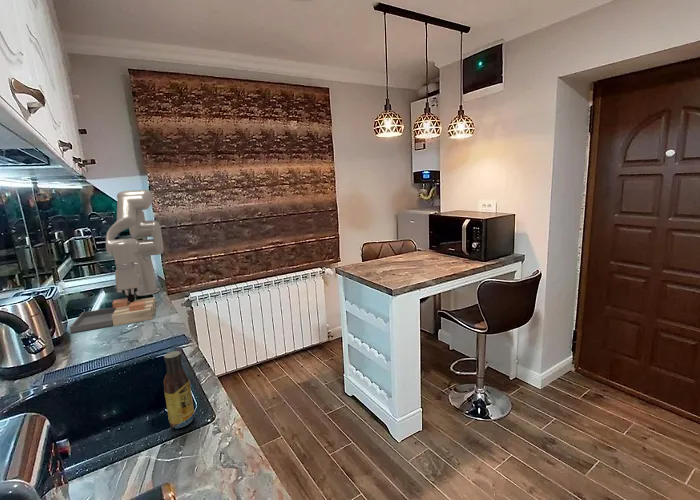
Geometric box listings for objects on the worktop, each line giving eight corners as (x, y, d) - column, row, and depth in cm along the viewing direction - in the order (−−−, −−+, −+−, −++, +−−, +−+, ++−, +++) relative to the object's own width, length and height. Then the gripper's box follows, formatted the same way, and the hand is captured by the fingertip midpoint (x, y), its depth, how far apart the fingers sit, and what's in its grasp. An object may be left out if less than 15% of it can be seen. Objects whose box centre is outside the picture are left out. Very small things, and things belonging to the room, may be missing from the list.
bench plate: (121, 311, 185) (119, 302, 184) (156, 306, 191) (154, 297, 190) (113, 326, 167) (111, 315, 166) (152, 319, 173) (150, 309, 172)
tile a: (114, 304, 181) (114, 300, 181) (128, 302, 184) (127, 297, 183) (113, 308, 176) (112, 303, 175) (127, 306, 178) (126, 301, 178)
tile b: (131, 307, 176) (130, 302, 175) (145, 305, 178) (144, 300, 178) (129, 311, 170) (128, 306, 170) (144, 309, 173) (143, 304, 172)
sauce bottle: (189, 430, 94) (177, 360, 90) (165, 431, 94) (152, 361, 90) (199, 414, 100) (189, 348, 96) (177, 415, 101) (166, 349, 97)
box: (83, 318, 179) (82, 312, 179) (120, 312, 185) (119, 306, 184) (71, 333, 161) (69, 327, 160) (112, 326, 167) (111, 320, 166)
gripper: (143, 262, 184) (149, 297, 188) (109, 267, 178) (116, 302, 182) (141, 265, 177) (147, 301, 181) (105, 270, 172) (113, 306, 175)
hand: (131, 301), depth 182 cm, fingers closed
